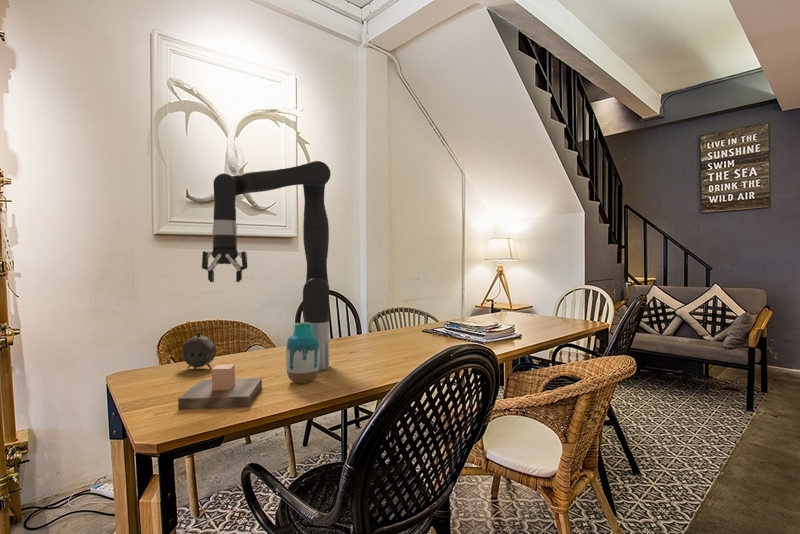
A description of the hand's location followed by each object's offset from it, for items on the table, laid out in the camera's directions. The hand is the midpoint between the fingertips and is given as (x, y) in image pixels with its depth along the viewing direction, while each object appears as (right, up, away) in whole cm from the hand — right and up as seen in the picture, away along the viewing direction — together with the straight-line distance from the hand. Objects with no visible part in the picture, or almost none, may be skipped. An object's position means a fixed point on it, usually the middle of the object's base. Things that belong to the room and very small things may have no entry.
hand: (225, 282), depth 147 cm
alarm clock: (-13, -32, +9) cm, 36 cm away
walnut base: (+9, -33, -22) cm, 40 cm away
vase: (+28, -33, -6) cm, 43 cm away
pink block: (+9, -30, -23) cm, 38 cm away
